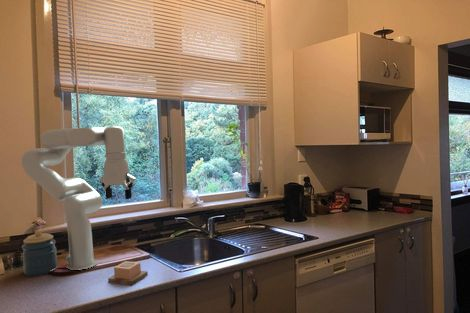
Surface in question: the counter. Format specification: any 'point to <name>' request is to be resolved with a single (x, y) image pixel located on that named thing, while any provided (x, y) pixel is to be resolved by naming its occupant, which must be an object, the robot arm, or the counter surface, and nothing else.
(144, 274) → the post board
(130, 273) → the collar
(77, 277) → the counter surface
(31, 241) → the canister
